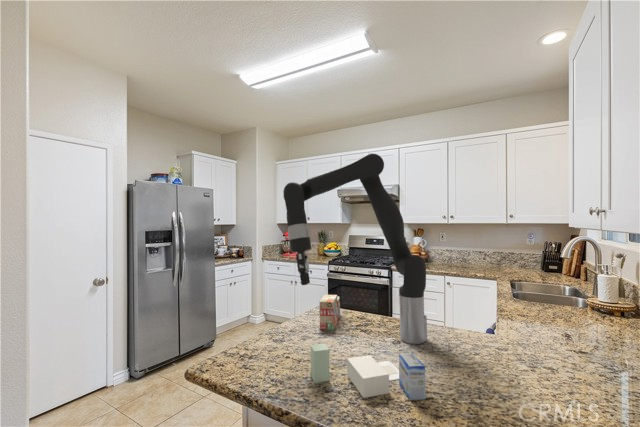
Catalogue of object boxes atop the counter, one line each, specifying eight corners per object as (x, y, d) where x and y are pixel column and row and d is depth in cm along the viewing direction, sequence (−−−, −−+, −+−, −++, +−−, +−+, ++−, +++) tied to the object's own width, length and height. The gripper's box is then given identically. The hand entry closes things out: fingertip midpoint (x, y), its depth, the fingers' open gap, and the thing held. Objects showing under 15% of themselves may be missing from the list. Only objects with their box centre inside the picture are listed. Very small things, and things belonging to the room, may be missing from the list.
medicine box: (398, 384, 84) (398, 353, 84) (414, 383, 84) (413, 352, 84) (409, 401, 76) (408, 366, 76) (426, 399, 76) (425, 365, 76)
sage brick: (325, 373, 90) (324, 343, 91) (329, 380, 86) (328, 349, 86) (310, 375, 89) (310, 345, 89) (314, 383, 85) (314, 351, 85)
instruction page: (388, 361, 97) (388, 360, 97) (407, 378, 87) (407, 376, 87) (366, 364, 95) (366, 363, 95) (382, 382, 85) (382, 381, 85)
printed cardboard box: (328, 314, 149) (327, 289, 149) (340, 315, 148) (340, 290, 148) (319, 329, 128) (319, 300, 128) (334, 330, 127) (333, 301, 127)
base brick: (370, 371, 91) (369, 355, 91) (389, 393, 79) (388, 374, 79) (347, 375, 89) (347, 358, 89) (363, 397, 77) (363, 378, 77)
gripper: (308, 234, 98) (315, 283, 95) (311, 238, 112) (317, 281, 109) (285, 237, 98) (292, 287, 95) (291, 241, 112) (297, 284, 109)
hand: (305, 284), depth 102 cm, fingers open, 8 cm apart
